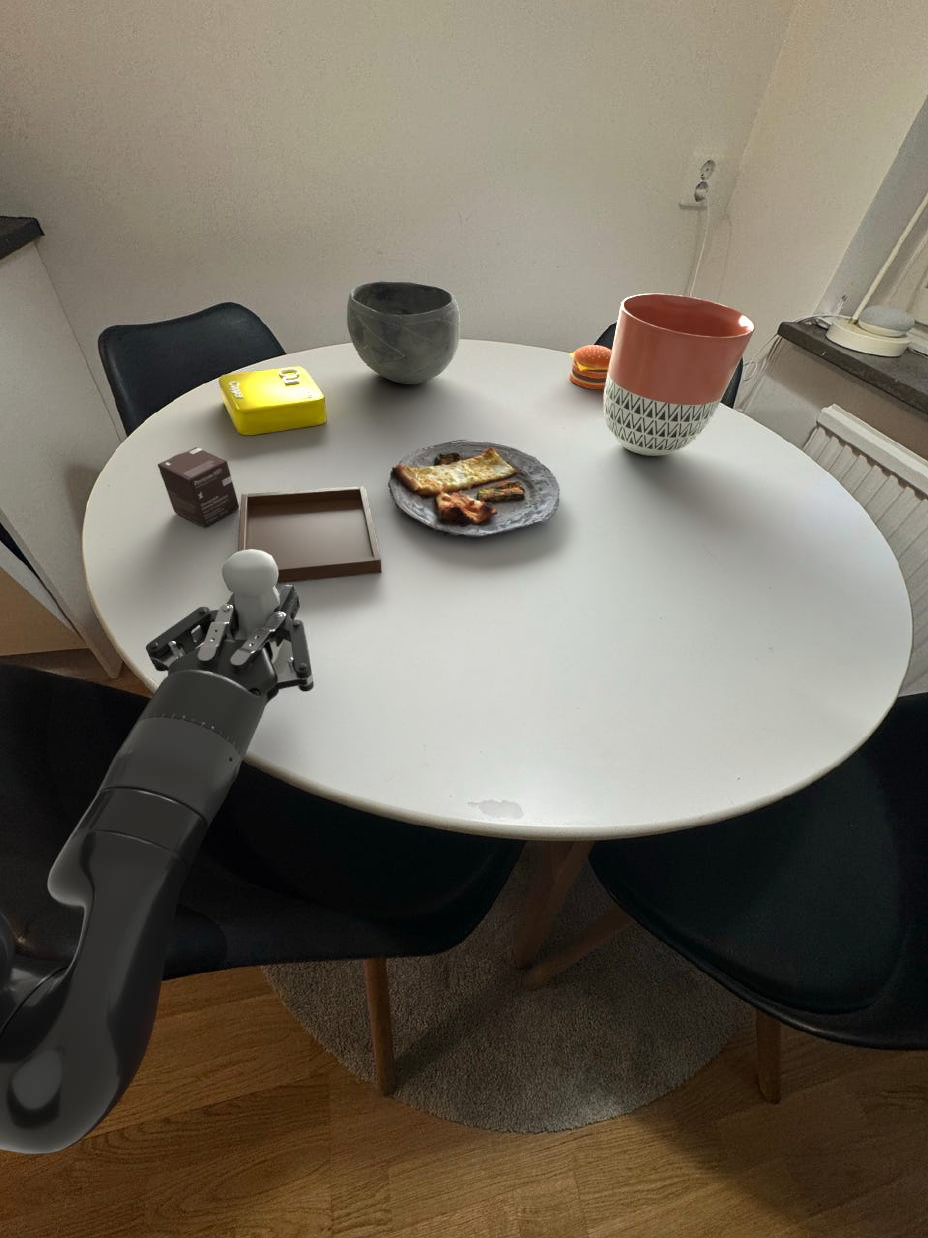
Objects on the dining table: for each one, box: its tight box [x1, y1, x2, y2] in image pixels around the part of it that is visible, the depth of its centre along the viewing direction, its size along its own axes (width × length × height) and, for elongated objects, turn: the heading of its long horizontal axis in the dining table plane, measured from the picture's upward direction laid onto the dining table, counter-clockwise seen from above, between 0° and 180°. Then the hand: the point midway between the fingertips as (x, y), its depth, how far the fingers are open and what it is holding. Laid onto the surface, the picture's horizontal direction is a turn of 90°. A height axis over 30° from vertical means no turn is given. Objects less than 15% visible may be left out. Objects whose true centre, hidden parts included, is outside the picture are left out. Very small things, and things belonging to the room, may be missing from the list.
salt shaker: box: [221, 549, 293, 673], centre depth 49 cm, size 6×6×13 cm
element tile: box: [218, 366, 328, 436], centre depth 93 cm, size 15×15×5 cm
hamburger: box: [569, 344, 612, 390], centre depth 113 cm, size 9×10×7 cm
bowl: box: [346, 280, 461, 385], centre depth 104 cm, size 21×21×15 cm
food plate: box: [387, 439, 561, 539], centre depth 80 cm, size 25×23×4 cm
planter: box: [602, 293, 756, 457], centre depth 88 cm, size 20×20×21 cm
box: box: [157, 447, 240, 528], centre depth 71 cm, size 6×6×7 cm
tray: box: [237, 485, 382, 584], centre depth 71 cm, size 17×17×2 cm
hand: (272, 589), depth 50 cm, fingers closed on salt shaker, 3 cm apart
